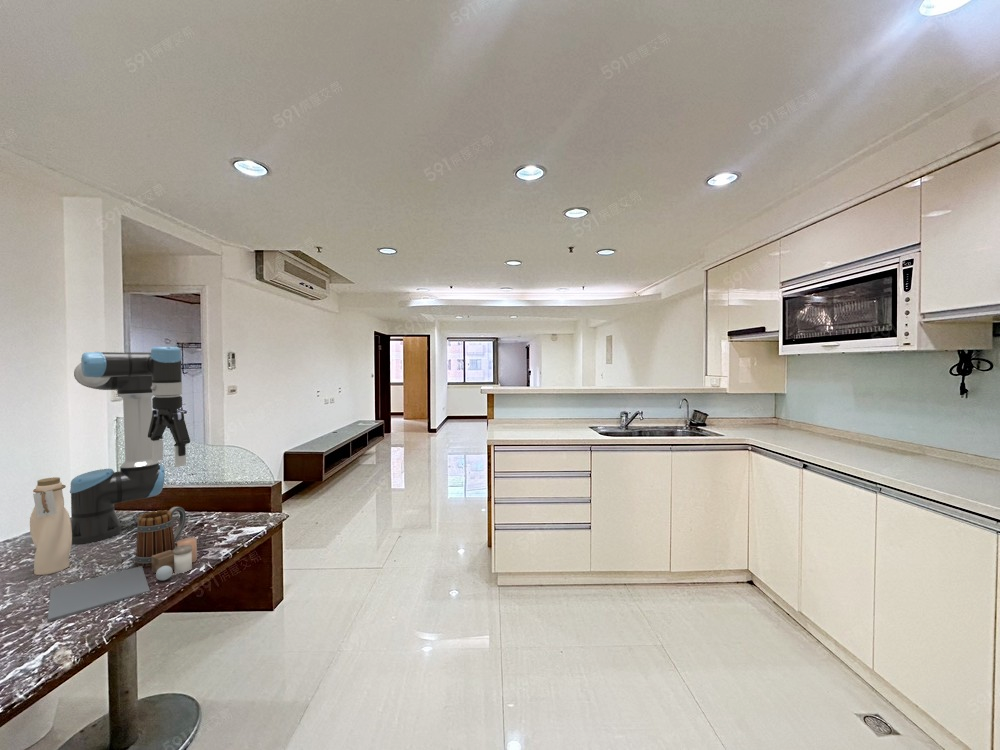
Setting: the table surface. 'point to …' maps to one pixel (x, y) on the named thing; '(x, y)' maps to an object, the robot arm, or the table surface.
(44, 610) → the table surface
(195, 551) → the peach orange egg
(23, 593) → the table surface
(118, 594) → the slate pad
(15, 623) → the table surface
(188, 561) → the jar
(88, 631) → the table surface
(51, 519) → the cream corked bottle
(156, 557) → the walnut block
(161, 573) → the grey ball
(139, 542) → the mug
